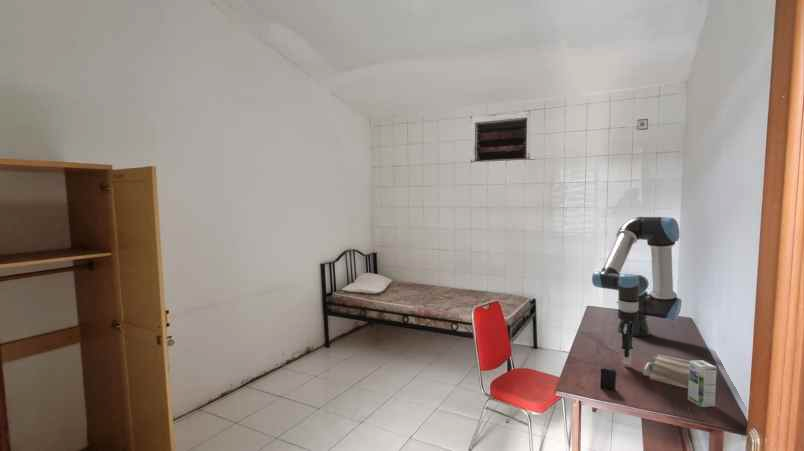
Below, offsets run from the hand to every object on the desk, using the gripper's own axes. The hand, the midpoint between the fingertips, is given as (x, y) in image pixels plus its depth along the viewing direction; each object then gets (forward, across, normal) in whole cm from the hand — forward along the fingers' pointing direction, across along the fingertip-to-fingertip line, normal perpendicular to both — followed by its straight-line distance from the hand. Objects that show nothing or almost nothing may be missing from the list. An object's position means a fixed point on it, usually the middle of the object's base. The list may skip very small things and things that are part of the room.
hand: (626, 363), depth 169 cm
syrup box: (+2, +18, +26) cm, 32 cm away
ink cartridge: (+2, +27, -2) cm, 27 cm away
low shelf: (+1, 0, +17) cm, 17 cm away
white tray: (+2, 0, +14) cm, 14 cm away
